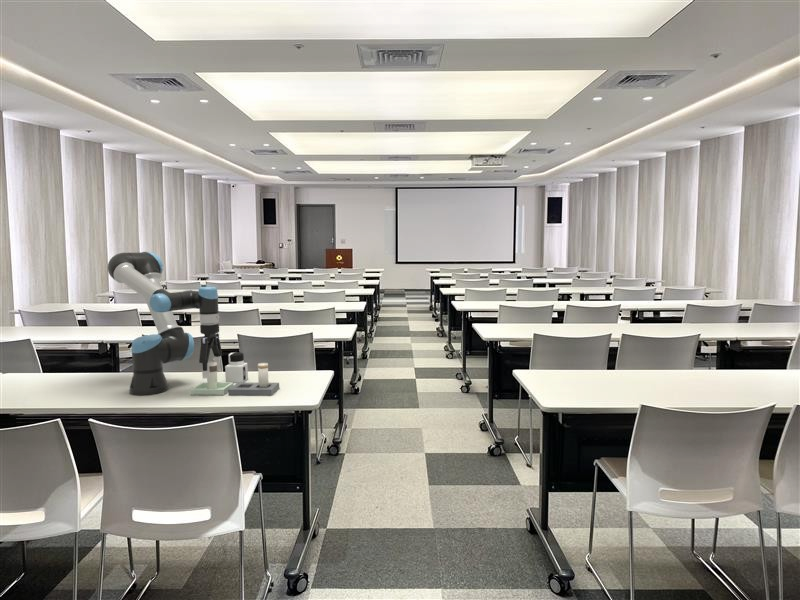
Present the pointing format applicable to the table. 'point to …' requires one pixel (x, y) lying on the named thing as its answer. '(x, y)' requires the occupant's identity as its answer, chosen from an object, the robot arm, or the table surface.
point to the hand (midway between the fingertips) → (211, 374)
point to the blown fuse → (212, 376)
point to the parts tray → (202, 389)
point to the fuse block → (252, 389)
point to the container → (236, 368)
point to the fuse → (263, 375)
